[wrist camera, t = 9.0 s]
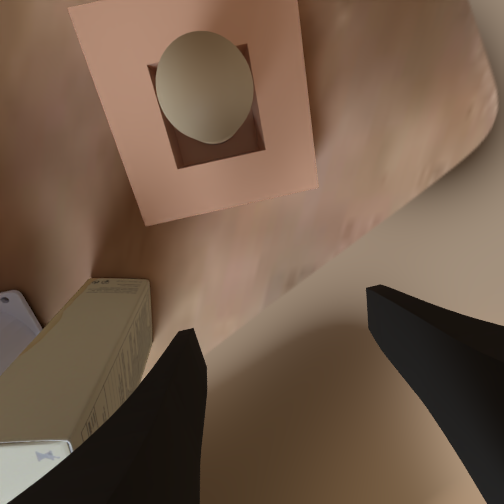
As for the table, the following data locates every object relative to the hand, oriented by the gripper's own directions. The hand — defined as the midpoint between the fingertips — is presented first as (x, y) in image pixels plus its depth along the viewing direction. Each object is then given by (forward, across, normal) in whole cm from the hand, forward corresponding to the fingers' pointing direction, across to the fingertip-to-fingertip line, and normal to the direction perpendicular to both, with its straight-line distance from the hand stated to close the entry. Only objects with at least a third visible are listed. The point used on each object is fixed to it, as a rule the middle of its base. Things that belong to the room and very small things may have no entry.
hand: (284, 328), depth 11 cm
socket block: (+10, +1, -9) cm, 13 cm away
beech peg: (+9, +1, -9) cm, 13 cm away
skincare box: (+10, +11, +3) cm, 15 cm away
